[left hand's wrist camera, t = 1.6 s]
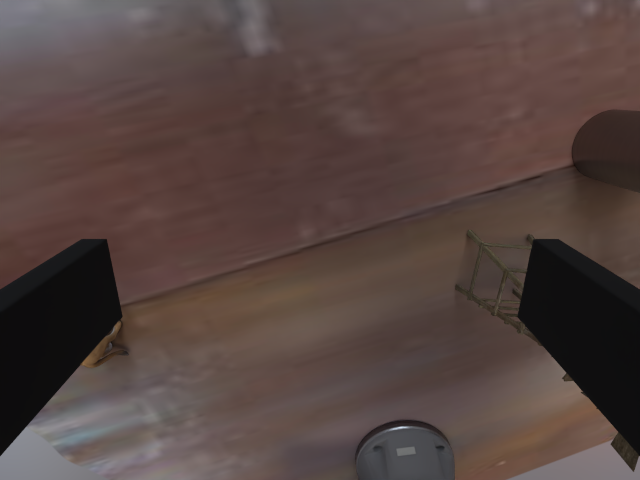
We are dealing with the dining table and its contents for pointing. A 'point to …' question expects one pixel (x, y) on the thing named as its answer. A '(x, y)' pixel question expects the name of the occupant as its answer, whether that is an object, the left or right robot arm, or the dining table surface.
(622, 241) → the dining table surface
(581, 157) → the bottle
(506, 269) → the miniature windmill
